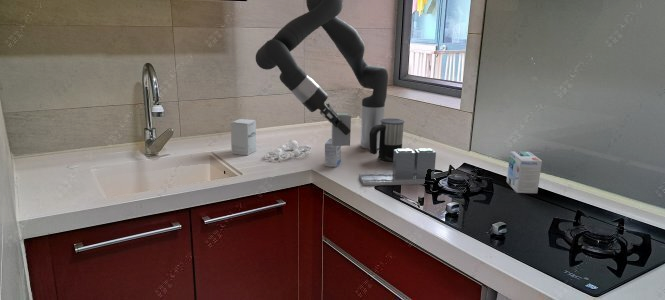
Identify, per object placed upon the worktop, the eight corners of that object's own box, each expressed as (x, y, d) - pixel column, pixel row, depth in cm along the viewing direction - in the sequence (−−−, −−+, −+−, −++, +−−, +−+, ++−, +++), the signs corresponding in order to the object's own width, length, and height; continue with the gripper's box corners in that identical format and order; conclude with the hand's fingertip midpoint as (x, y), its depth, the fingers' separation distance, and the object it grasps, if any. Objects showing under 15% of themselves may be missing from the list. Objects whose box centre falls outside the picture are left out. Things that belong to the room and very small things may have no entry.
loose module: (331, 142, 154) (332, 113, 151) (348, 142, 154) (349, 113, 152) (332, 145, 150) (333, 115, 148) (350, 145, 151) (351, 115, 148)
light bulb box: (505, 181, 159) (509, 150, 156) (526, 182, 159) (530, 151, 156) (516, 193, 149) (520, 160, 146) (538, 193, 149) (543, 160, 146)
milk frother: (388, 153, 190) (390, 116, 186) (421, 162, 179) (424, 123, 175) (364, 160, 180) (366, 121, 176) (397, 170, 169) (400, 129, 165)
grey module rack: (358, 177, 160) (360, 147, 158) (428, 176, 163) (430, 146, 160) (363, 185, 153) (364, 153, 150) (435, 184, 156) (438, 152, 153)
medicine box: (336, 167, 171) (337, 144, 168) (324, 166, 172) (324, 143, 169) (340, 161, 178) (341, 138, 176) (329, 160, 179) (329, 138, 177)
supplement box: (248, 155, 183) (247, 123, 179) (231, 153, 185) (229, 121, 182) (257, 151, 189) (256, 119, 186) (240, 149, 192) (239, 118, 188)
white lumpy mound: (281, 169, 172) (281, 158, 171) (255, 158, 181) (255, 147, 179) (317, 156, 186) (318, 146, 185) (291, 147, 195) (291, 137, 194)
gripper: (320, 88, 140) (359, 128, 144) (316, 81, 153) (352, 118, 158) (302, 106, 140) (342, 145, 145) (299, 98, 154) (336, 134, 159)
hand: (347, 131), depth 151 cm, fingers closed on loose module, 3 cm apart
